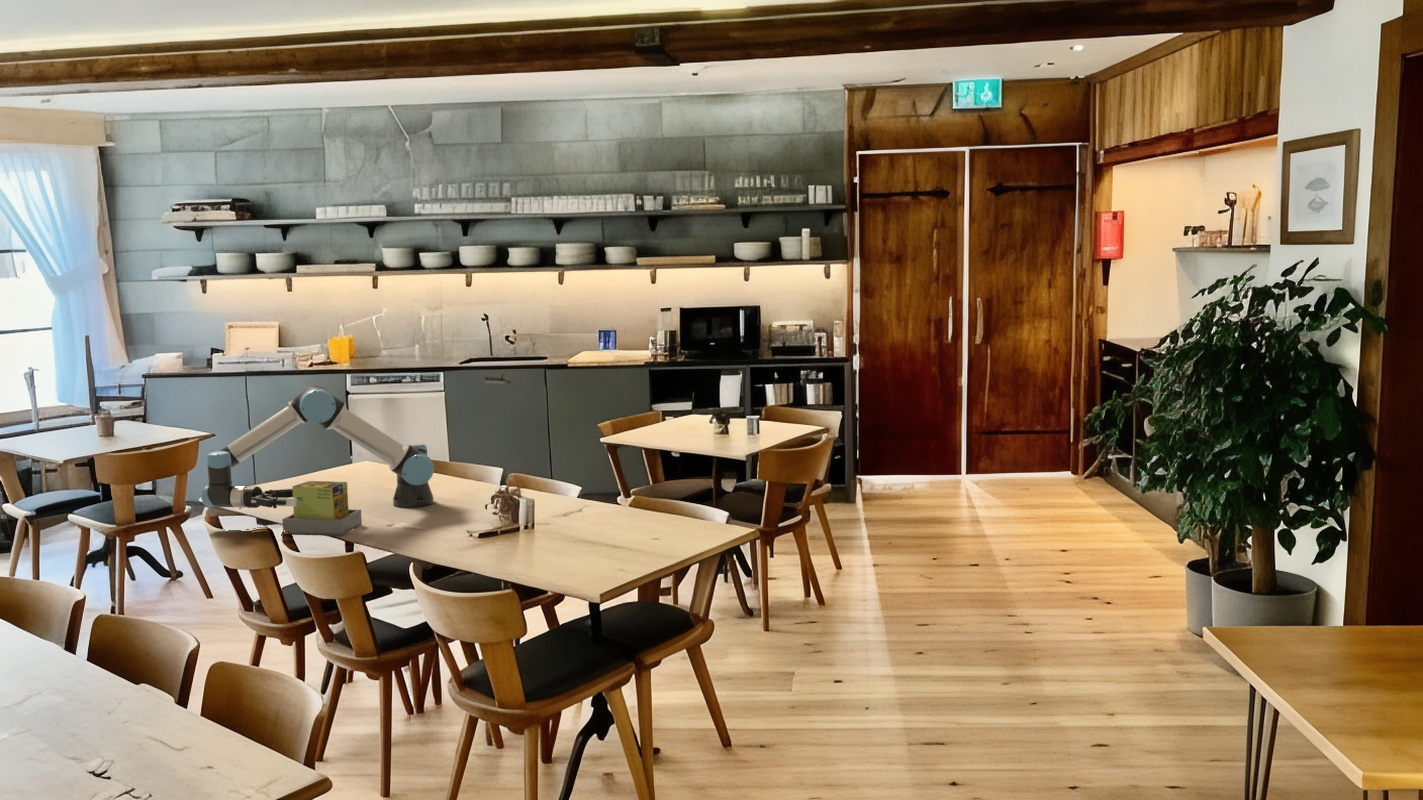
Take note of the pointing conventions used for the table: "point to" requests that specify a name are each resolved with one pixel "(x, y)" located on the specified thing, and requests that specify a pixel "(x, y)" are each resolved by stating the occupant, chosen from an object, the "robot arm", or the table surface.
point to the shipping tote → (323, 525)
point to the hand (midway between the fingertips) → (305, 498)
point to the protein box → (321, 500)
